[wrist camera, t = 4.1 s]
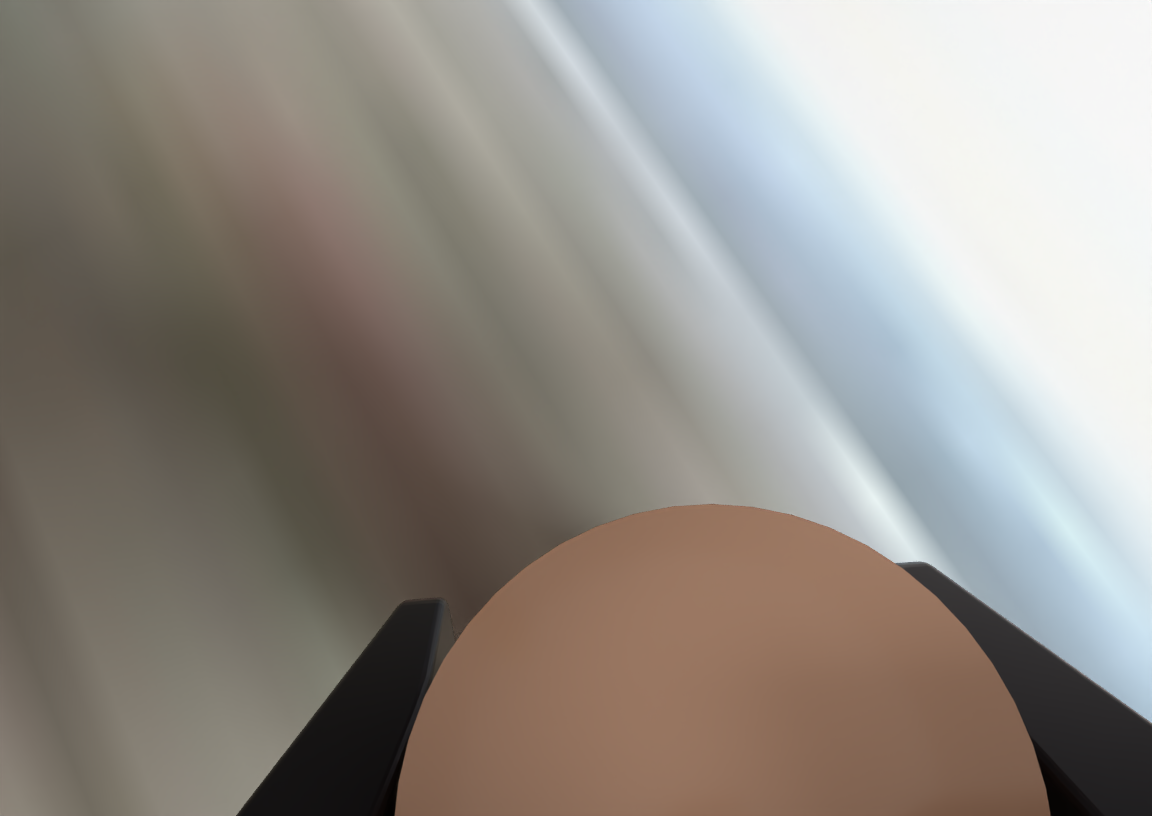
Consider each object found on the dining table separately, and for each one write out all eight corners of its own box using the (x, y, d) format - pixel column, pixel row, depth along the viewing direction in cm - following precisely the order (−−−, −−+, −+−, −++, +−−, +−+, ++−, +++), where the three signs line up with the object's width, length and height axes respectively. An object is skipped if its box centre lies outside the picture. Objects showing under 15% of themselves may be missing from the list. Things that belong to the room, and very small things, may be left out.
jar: (571, 885, 15) (535, 1350, 5) (482, 643, 16) (305, 645, 6) (801, 783, 15) (1183, 1040, 5) (700, 552, 16) (869, 413, 6)
